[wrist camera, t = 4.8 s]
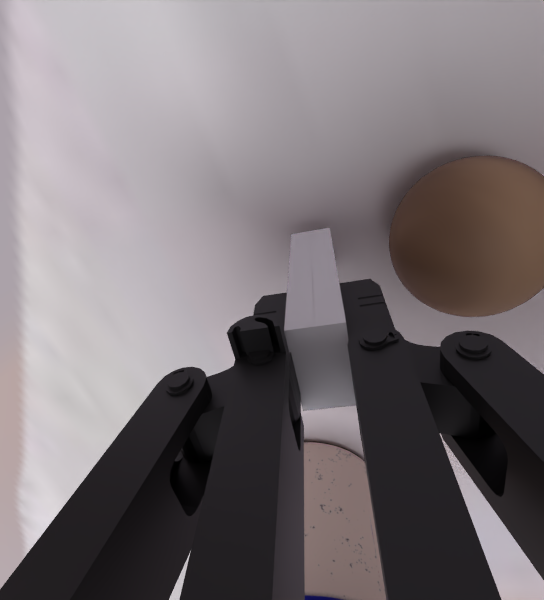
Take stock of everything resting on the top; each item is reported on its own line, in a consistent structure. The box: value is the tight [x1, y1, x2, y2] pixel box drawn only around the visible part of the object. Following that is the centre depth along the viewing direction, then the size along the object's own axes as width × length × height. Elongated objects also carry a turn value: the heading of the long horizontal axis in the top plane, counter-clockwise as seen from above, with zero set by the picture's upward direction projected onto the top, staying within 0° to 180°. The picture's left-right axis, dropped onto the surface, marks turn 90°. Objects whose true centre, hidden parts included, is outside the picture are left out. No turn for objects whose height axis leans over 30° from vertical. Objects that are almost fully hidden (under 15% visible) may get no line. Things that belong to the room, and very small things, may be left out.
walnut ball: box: [389, 156, 544, 317], centre depth 14 cm, size 6×6×6 cm
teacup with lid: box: [304, 442, 386, 600], centre depth 21 cm, size 12×9×12 cm
